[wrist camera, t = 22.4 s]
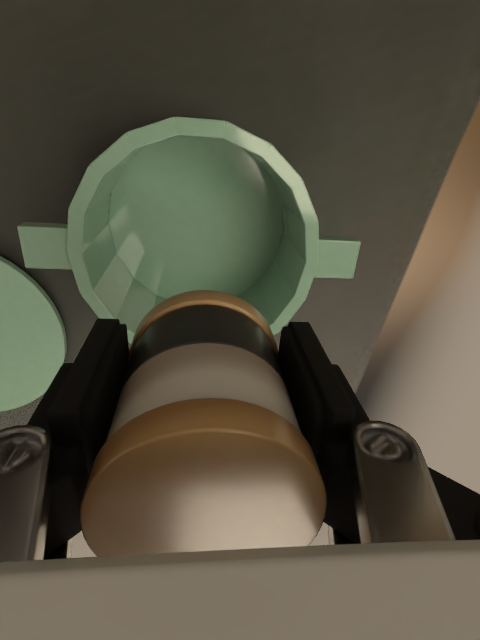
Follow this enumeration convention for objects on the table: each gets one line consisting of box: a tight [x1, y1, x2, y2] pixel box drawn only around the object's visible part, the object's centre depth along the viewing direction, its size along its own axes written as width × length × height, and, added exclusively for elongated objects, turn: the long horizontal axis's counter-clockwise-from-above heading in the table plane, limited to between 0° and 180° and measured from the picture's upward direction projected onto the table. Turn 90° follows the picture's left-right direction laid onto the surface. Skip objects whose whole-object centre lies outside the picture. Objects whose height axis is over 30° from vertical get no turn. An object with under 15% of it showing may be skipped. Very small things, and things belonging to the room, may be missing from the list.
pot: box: [17, 116, 361, 344], centre depth 25 cm, size 14×19×8 cm
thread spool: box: [80, 290, 327, 557], centre depth 9 cm, size 4×4×6 cm
